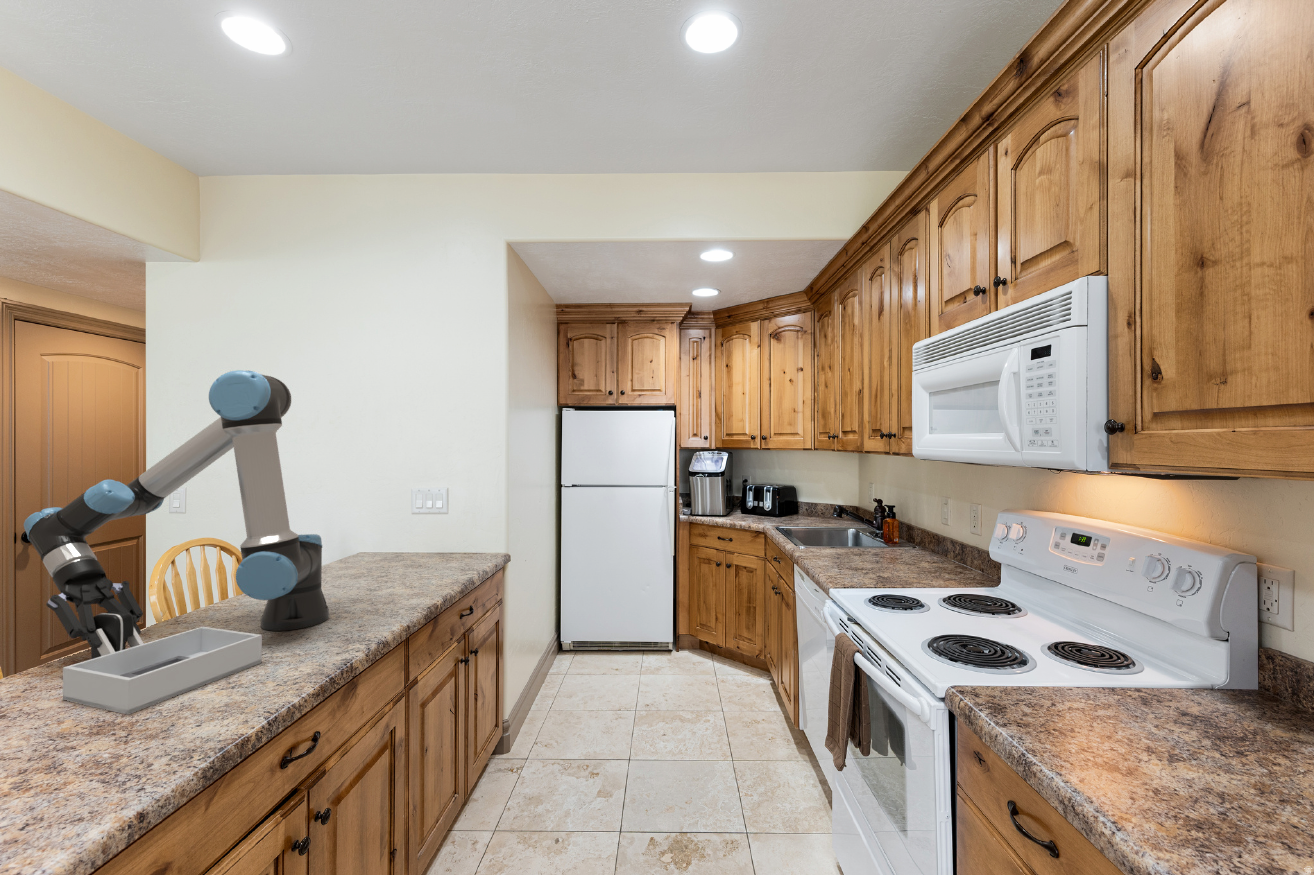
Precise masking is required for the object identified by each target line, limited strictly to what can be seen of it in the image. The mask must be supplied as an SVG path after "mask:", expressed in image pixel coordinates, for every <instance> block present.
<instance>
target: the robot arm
mask: <svg viewBox="0 0 1314 875" xmlns="http://www.w3.org/2000/svg"><path fill="white" fill-rule="evenodd" d="M208 402H209V405H210V407H211V408H212V410H213V411H214V412H215V413H216V414H217V415H218V416H220V417H218V418H217V419H216V420H214V421H213V422H211V423H210V424H209V425H207V426H206V427H205V428H203V429H202V430H200V431H199V432H198V433H196V434H195V435H194V436H192V437H191V438H189V439H188V440H186V441H185V442H184V443H183V444H181V445H180V446H179V447H177V448H176V449H174V450H173V451H171V452H170V453H169V454H168V455H166V456H165V457H163V458H162V459H160V460H159V461H158V462H157V463H155V464H153V466H151V467H150V468H148V469H147V470H146V471H144V472H143V473H142V474H140V475H139V476H137V477H136V478H135V479H133V480H132V481H130V482H129V483H128V484H125V483H122V482H121V481H119V480H117V481H116V480H114V479H104V480H102V481H99V482H98V483H96V484H95V485H93V486H90V487H89V488H88V489H86V491H85V492H82V494H80V495H79V496H78V497H76V498H75V499H74V500H72V501H71V502H70V503H68V504H66V505H65V506H64V507H59V506H57V507H55V506H54V507H48V508H43V509H41V511H37V512H36V511H35V512H34V513H32V514H30V515H29V516H28V517H27V518H25V520H24V522H23V528H24V531H25V533H26V535H27V539H28V541H29V542H30V543H31V545H32V546H33V548H34V549H35V550H36V552H37V554H38V555H39V557H40V560H41V561H42V563H43V565H44V567H45V568H46V570H47V572H48V573H49V575H50V578H52V581H53V583H54V584H55V587H56V589H57V590H58V591H59V592H60V594H53V595H51V596H50V598H49V600H48V601H47V603H46V605H45V606H46V607H47V608H49V609H50V610H52V611H53V612H54V613H55V615H56V616H57V619H58V620H59V621H60V623H61V624H62V626H63V628H64V629H65V631H66V633H67V635H68V636H69V637H70V638H71V639H77V638H80V637H81V638H80V640H82V641H86V642H87V643H88V645H89V646H90V648H92V649H96V648H97V649H98V651H99V653H100V654H101V656H104V655H108V654H111V653H114V652H115V651H114V649H113V647H112V645H111V644H110V642H109V640H108V639H107V637H106V635H105V634H104V632H103V630H102V628H101V629H97V630H96V631H95V629H96V627H95V622H94V618H93V617H94V613H93V610H92V605H98V607H100V608H104V610H105V611H107V612H126V613H130V614H131V615H132V617H133V625H134V632H133V636H130V637H128V640H127V642H126V643H127V644H128V646H129V648H131V647H135V646H138V645H142V644H145V643H144V641H143V639H142V638H141V636H140V635H141V633H142V630H141V628H139V626H138V624H137V623H138V622H139V620H140V619H141V618H142V617H143V615H144V612H143V610H142V608H141V607H140V605H139V603H138V601H137V600H136V598H135V597H134V595H133V593H132V591H131V590H130V582H129V581H127V580H124V581H122V582H121V583H120V582H119V583H117V582H116V583H115V582H113V581H112V580H110V579H109V578H108V577H107V574H106V571H105V569H104V568H103V566H102V564H101V563H100V562H99V560H98V557H97V556H96V554H95V553H94V551H93V549H92V548H91V547H90V545H89V544H88V541H87V540H86V537H88V536H89V535H91V534H93V533H94V532H95V531H96V530H98V529H100V528H101V527H102V526H104V525H105V524H106V523H108V522H110V521H114V520H120V519H124V518H130V517H135V516H143V515H148V514H149V513H151V512H154V511H157V510H158V509H160V507H161V506H162V505H163V503H164V501H165V499H166V498H167V497H168V496H170V495H171V494H172V493H174V492H175V491H176V490H178V489H179V488H181V487H182V486H183V485H184V484H187V482H189V481H190V480H191V479H193V478H194V477H195V476H197V475H198V474H199V473H201V472H202V471H204V470H206V468H208V467H209V466H210V465H212V464H213V463H214V462H216V461H217V460H218V459H220V458H221V457H222V456H224V455H226V453H228V452H230V451H231V450H232V449H233V452H234V458H235V465H236V472H237V478H238V485H239V493H240V500H241V505H242V512H243V520H244V525H245V532H246V534H245V535H246V539H245V540H243V542H242V543H241V544H240V545H239V546H240V554H241V560H242V561H241V562H240V563H239V565H238V567H237V569H236V572H235V582H236V585H237V587H238V588H239V590H240V591H241V592H242V593H243V594H244V595H245V596H248V597H249V598H251V599H254V600H259V601H266V604H265V607H264V610H263V613H262V615H261V617H260V628H261V629H262V630H265V631H272V632H273V631H274V632H275V631H277V632H278V631H279V632H282V631H290V630H291V631H292V630H298V629H299V630H300V629H303V628H304V629H305V628H308V627H313V626H316V625H319V624H321V623H323V622H325V621H327V620H328V619H329V617H330V612H329V611H330V610H329V609H330V608H329V606H328V604H327V601H326V598H325V595H324V593H323V589H322V579H323V578H322V572H323V571H322V568H323V567H322V565H323V563H322V562H323V561H322V559H323V558H322V555H323V554H322V553H323V552H322V551H323V548H324V547H323V544H322V537H321V536H320V535H319V534H316V533H313V534H312V533H311V534H310V533H309V534H307V533H305V534H298V533H296V532H294V531H292V530H291V528H290V521H289V515H288V508H287V500H286V499H287V498H286V493H285V486H284V480H283V479H284V478H283V473H282V466H281V459H280V454H279V453H280V452H279V445H278V439H277V432H278V431H279V429H280V428H281V427H283V422H282V418H283V417H285V415H286V414H287V413H288V411H289V410H290V408H291V405H292V395H291V391H290V389H289V388H288V386H287V385H286V384H285V383H284V382H283V381H282V380H280V379H279V378H277V377H273V376H271V375H270V376H269V375H267V374H266V375H265V374H262V373H259V372H256V371H254V370H241V369H239V370H238V369H237V370H232V371H231V370H230V371H227V372H225V373H222V374H221V375H220V376H218V377H217V378H216V379H215V380H214V381H213V382H212V384H211V385H210V388H209V391H208ZM112 591H114V593H113V592H112ZM115 595H116V596H117V598H118V599H117V598H115ZM118 600H119V601H118ZM68 602H70V603H71V604H72V603H73V604H74V608H75V611H76V613H77V615H78V617H77V616H76V614H75V612H74V611H73V609H72V608H71V606H70V604H69V603H68Z"/></svg>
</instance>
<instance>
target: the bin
mask: <svg viewBox="0 0 1314 875" xmlns="http://www.w3.org/2000/svg"><path fill="white" fill-rule="evenodd" d="M262 638H263V636H262V634H258V633H249V632H242V631H236V630H229V629H222V628H216V627H215V628H214V627H208V626H207V627H206V626H200V627H197V628H194V629H190V630H187V631H186V630H185V631H182V632H179V633H176V634H173V635H169V636H167V637H166V636H165V637H163V638H159V639H156V640H152V641H148V642H145V643H144V644H142V645H138V646H135V647H129V648H125V650H121V651H118V652H114V653H111V654H108V655H104V656H101V657H97V658H94V659H91V658H90V659H87V660H85V661H81V662H78V663H74V664H71V665H67V666H64V667H62V701H64V700H67V701H66V702H69V701H70V702H69V703H73V702H77V703H76V704H78V703H79V705H82V704H83V705H82V706H87V707H92V708H97V709H101V710H105V709H106V710H105V711H108V712H109V711H111V712H114V713H119V714H123V715H130V714H134V713H136V711H137V712H139V711H141V709H142V710H145V709H147V708H150V707H152V706H154V704H155V705H157V704H159V703H158V702H160V703H162V702H164V701H163V700H165V701H167V700H170V699H173V698H174V697H175V698H176V697H177V695H178V696H180V695H183V694H186V693H189V692H190V690H191V691H193V690H195V688H196V689H198V688H201V687H203V686H206V685H208V683H209V684H210V683H213V682H216V681H219V680H221V679H224V678H226V677H229V676H231V675H234V674H237V673H239V672H243V671H245V670H246V669H250V668H253V667H255V666H257V665H260V664H262V663H263V662H262V660H263V659H262V657H263V656H262V655H263V654H262V653H263V650H262V649H263V643H262V642H263V640H262ZM205 684H206V685H205ZM182 693H183V694H182ZM172 697H173V698H172Z"/></svg>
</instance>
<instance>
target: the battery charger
mask: <svg viewBox="0 0 1314 875" xmlns="http://www.w3.org/2000/svg"><path fill="white" fill-rule="evenodd" d="M93 618H94V622H95V627H96V629H95V631H96V630H97V629H101V628H102V630H103V632H104V634H105V635H106V637H107V639H108V640H109V642H110V644H111V645H112V647H113V649H114V651H115V652H118V651H121V650H125V649H126V648H127V647H126V645H127V643H128V642H127V640H128V637H130V636H133V632H134V625H133V617H132V615H131V614H130V613H126V612H108V611H107V612H102V613H99V614H96V615H93ZM90 648H91V647H90ZM90 651H91V653H90V654H91V655H90V656H91V658H90V660H91V659H94V658H97V657H101V654H100V653H99V651H98V649H97V648H96V649H92V648H91V649H90Z"/></svg>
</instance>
